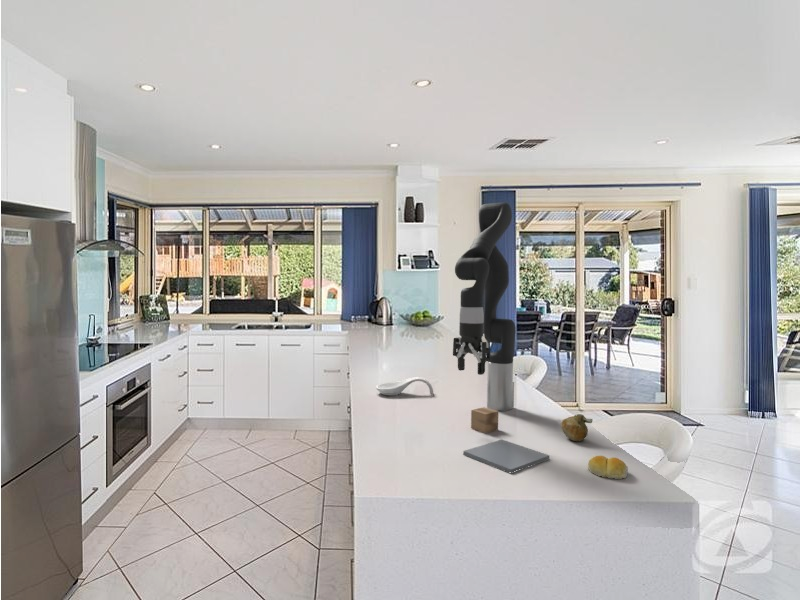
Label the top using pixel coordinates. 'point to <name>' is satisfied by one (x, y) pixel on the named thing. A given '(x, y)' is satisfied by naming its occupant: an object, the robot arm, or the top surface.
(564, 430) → the onion
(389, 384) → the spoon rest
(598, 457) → the bread roll
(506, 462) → the slate plate
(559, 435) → the top surface
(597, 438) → the top surface
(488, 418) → the walnut block
